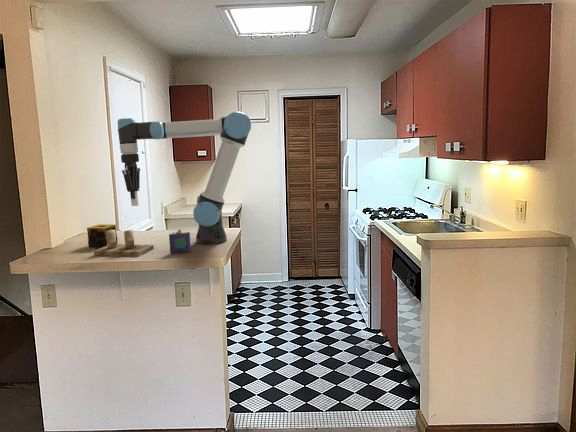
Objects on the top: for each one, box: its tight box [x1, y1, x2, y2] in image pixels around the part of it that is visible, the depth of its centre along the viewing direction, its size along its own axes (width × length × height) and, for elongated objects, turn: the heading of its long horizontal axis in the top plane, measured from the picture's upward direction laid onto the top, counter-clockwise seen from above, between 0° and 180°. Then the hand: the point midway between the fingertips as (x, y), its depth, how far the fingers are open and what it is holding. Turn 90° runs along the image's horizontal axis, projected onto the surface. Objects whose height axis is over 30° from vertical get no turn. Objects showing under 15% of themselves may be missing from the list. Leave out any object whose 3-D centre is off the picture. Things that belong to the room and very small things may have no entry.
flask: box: [168, 228, 192, 255], centre depth 210 cm, size 9×3×11 cm, turn 113°
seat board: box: [93, 230, 155, 257], centre depth 214 cm, size 22×14×10 cm, turn 80°
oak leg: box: [123, 229, 135, 249], centre depth 213 cm, size 4×4×10 cm
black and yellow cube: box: [86, 223, 119, 249], centre depth 229 cm, size 10×10×10 cm
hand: (135, 205), depth 214 cm, fingers closed
